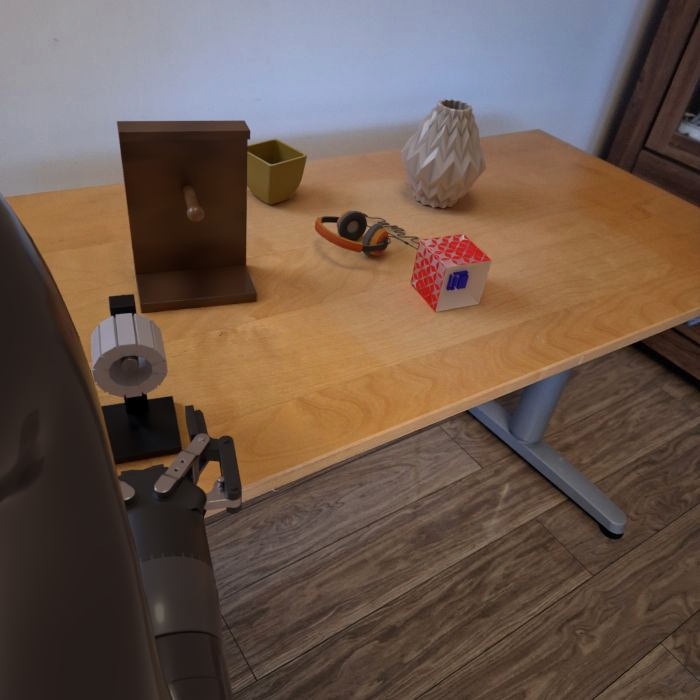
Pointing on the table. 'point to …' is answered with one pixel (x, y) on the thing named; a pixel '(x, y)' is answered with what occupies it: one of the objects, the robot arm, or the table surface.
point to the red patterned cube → (450, 272)
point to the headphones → (358, 233)
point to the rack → (187, 211)
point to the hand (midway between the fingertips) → (137, 420)
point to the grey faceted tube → (128, 340)
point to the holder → (139, 412)
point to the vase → (444, 155)
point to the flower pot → (274, 170)
